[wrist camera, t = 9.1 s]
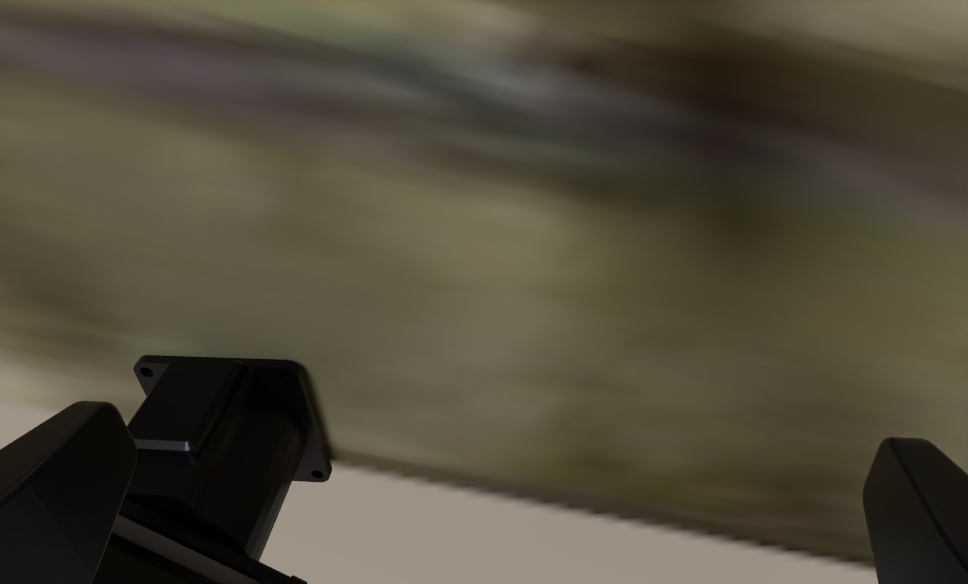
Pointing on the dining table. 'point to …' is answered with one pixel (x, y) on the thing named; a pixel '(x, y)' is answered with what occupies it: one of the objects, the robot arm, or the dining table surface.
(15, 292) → the dining table surface
